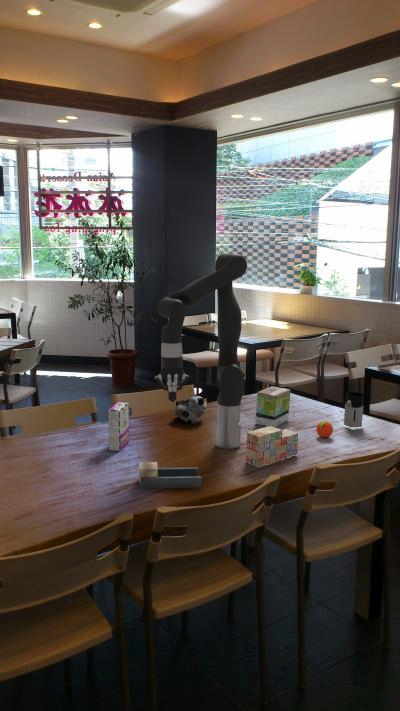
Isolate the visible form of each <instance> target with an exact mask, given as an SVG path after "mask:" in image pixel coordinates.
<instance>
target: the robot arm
mask: <svg viewBox="0 0 400 711" xmlns="http://www.w3.org/2000/svg"><path fill="white" fill-rule="evenodd" d="M247 269H248V261H247V260H246V258H245V256H243V255H242V254H239V253H220V254H219V255H218V256H217V257H216V259H215V263H214V272H212V273H209V274H207V275H205V276H203V277H202V276H201V277H199V278H198V279H196V280H194V281H192V282H191V283H188V284H187V285H186V286H184V287H183V288H182V289H181V290H178V291H175V292H173V293H170V294H169V295H167V296H165V297H163V298H162V299H161V300H160V301H159V302H158V305H157V308H156V309H157V313H158V314H159V316H160V317H162V318H165V319H167V320H168V321H167V325H164V326H163V327H162V328H161V347H160V348H161V350H160V351H161V352H160V355H161V357H160V359H161V360H160V361H161V363H160V365H161V368H160V371H159V374H158V375H155V376H154V379H155V381H156V383H157V384H158V385H159V386H160V388H162V390H163V391H165V392H166V391H167V394H168V395H167V397H168V398H167V399H168V401H169V402H170V403H174V402H176V400H177V392H178V391H181V390H182V389H183V388H184V387H185V385H186V384H187V383H188V381H189V380H190V376H189V375H188V374H186V373H185V371H184V369H183V355H184V353H183V345H182V344H183V343H182V339H183V338H182V330H183V327H184V323H185V318H186V308H191V307H193V306H194V305H196V304H197V303H199V302H200V301H201V300H202V299H205V297H207V296H209V295H210V294H211V293H213V292H215V291H216V294H217V295H216V296H217V338H218V339H217V340H218V341H217V342H218V358H217V359H218V361H217V368H216V377H217V379H218V381H219V393H218V396H217V400H216V401H217V403H216V407H217V408H216V432H215V434H216V435H215V445H216V447H218V448H221V449H226V450H227V449H229V450H232V449H236V448H241V434H242V424H241V409H242V408H241V406H242V399H243V396H244V395H243V392H244V381H245V380H244V378H245V377H244V372H243V370H242V369H241V368H240V367H239V360H238V346H239V342H240V340H241V339H240V338H241V334H242V310H241V307H240V305H239V303H238V301H237V298H236V296H235V292H234V289H233V288H234V287H233V286H234V285H233V281H236V280H238V279H240V278H242V277H243V276H244V275H245V274H246V272H247ZM163 380H164V381H165V382H166V384H167V386H166V385H165V383H164V382H163ZM180 380H181V381H180ZM179 381H180V382H179ZM178 382H179V383H178Z"/></svg>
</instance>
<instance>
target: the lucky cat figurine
mask: <svg viewBox="0 0 400 711" xmlns="http://www.w3.org/2000/svg"><path fill="white" fill-rule="evenodd" d="M207 399H208V398H205V397H202V396H200V395H195V396H191V397H190V398H189V399H188V401H187V400H186V399H185V398H184V399H183V400H182V403H181V404H178V405H177V406H176V407H175V409H174V411H172V412H171V413H172V414H173V415H175V416H176V417H178V418H179V419H181V421H184V422H186V423H189V424H190V425H194V424H197V423H200V421H201V416H203V415H204V414H205V412H206V411H207V404H208V402H207Z"/></svg>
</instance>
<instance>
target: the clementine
mask: <svg viewBox="0 0 400 711" xmlns="http://www.w3.org/2000/svg"><path fill="white" fill-rule="evenodd" d="M333 433H334V427H333V425H332V424H331V423H330V422H329V421H327V420H322V421H320V422H318V424H317V425H316V434H317V436H319V437H320V436H321V438H323V437H327V438H329V437H331V436H332V435H333Z"/></svg>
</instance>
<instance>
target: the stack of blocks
mask: <svg viewBox="0 0 400 711" xmlns="http://www.w3.org/2000/svg"><path fill="white" fill-rule="evenodd" d="M298 444H299V433H298V432H296V431H294V430H293V431H292V430H290V429H286V428H285V429H280V428H277V427H272V426H265V427H262V428H258V429H254V430H249V431H247V432H246V449H245V450H246V452H245V453H246V454H245V464H247V463H248V465H249V464H251V465H250V466H252V465H254V466H256V467H259V468H261V467H260V466H263V465H266V464H269V465H271V464H270V463H273V462H275V461H278V460H281V459H283V458H287V457H290V456H292V455H296V454H297V455H298V447H299V446H298ZM273 464H274V463H273ZM254 466H253V467H254ZM266 466H267V465H266ZM256 467H255V468H256ZM263 467H264V466H263Z"/></svg>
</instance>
